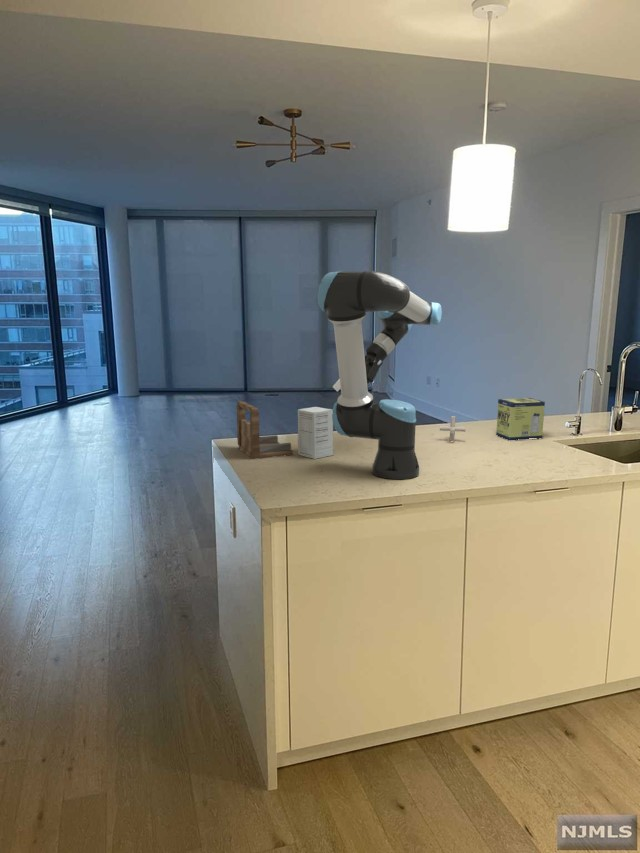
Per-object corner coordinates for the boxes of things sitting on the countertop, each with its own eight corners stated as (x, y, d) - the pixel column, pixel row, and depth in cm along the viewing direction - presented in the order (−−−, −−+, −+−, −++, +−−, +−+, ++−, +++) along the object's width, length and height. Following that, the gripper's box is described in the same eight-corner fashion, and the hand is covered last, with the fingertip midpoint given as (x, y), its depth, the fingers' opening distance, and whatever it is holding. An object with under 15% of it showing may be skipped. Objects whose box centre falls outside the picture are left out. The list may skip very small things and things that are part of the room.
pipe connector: (465, 444, 234) (466, 419, 232) (439, 443, 236) (440, 418, 234) (464, 439, 244) (465, 414, 241) (439, 437, 245) (440, 413, 243)
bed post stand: (293, 455, 217) (292, 406, 213) (252, 459, 210) (252, 408, 207) (275, 444, 233) (275, 398, 229) (237, 448, 226) (236, 401, 223)
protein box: (495, 435, 251) (497, 398, 247) (527, 433, 255) (530, 397, 251) (509, 441, 241) (511, 402, 238) (542, 439, 245) (546, 401, 242)
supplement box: (333, 455, 217) (334, 409, 213) (314, 459, 211) (314, 412, 207) (316, 450, 224) (316, 406, 220) (297, 454, 218) (297, 408, 214)
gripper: (404, 358, 211) (366, 404, 208) (369, 352, 233) (334, 393, 230) (391, 344, 208) (353, 390, 205) (357, 339, 230) (322, 380, 227)
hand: (343, 392), depth 218 cm, fingers open, 13 cm apart
